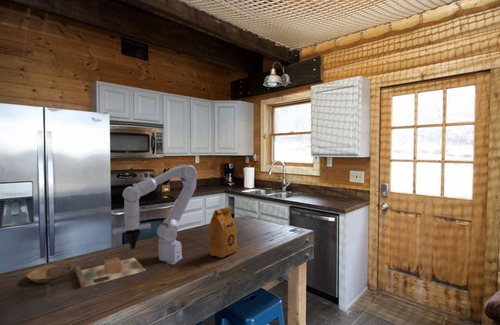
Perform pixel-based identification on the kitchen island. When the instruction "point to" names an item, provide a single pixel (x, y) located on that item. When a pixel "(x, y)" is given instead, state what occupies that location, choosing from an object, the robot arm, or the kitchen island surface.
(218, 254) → the coffee package
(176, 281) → the kitchen island surface
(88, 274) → the box
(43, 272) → the plant saucer
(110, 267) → the rust block
